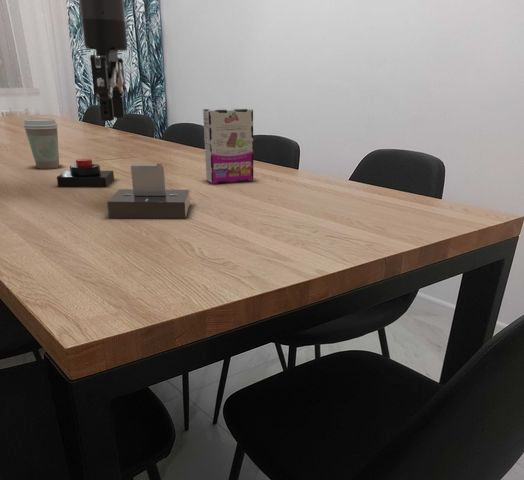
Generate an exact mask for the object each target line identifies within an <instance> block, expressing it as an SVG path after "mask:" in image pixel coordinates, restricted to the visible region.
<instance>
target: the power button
mask: <svg viewBox="0 0 524 480" xmlns="http://www.w3.org/2000/svg"><path fill="white" fill-rule="evenodd" d="M75 164H76V165H77V167H91V166H93V164H94V163H93V159H92V158H85V157H84V158H77V159H75Z"/></svg>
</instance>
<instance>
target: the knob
mask: <svg viewBox="0 0 524 480" xmlns="http://www.w3.org/2000/svg"><path fill="white" fill-rule="evenodd" d="M130 175H131V182H132V189H133V193H134V196H166V190H167V181H166V170H165V164H164V163H163V162H157V163H132V164H130Z"/></svg>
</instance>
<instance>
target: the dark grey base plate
mask: <svg viewBox="0 0 524 480" xmlns="http://www.w3.org/2000/svg"><path fill="white" fill-rule="evenodd" d="M190 199H191V198H190V189H166V196H134V193H133V188H132V189H131V188H130V189H129V188H119V189H118V190H117V191H116V192H114V193H113V195H112V196H111V197H110V198H109V199H108V200H107V202H106V204H107V212H108V218H109V219H187V215H188V212H189V209H190V206H191V200H190Z"/></svg>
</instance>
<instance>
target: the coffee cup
mask: <svg viewBox="0 0 524 480" xmlns="http://www.w3.org/2000/svg"><path fill="white" fill-rule="evenodd" d="M58 128H59V126H58V123H57V121H56V120H55V119H54V118H46V117H45V118H43V117H41V118H26V119H24V121H23V129H24V130H25V133H26V137H27V140H28V143H29V146H30V149H31V150H30V151H31V153H32V156H33V159H34V162H35V166H36V168H37V169H39V170H53V169H59V168H60V153H59V137H58Z"/></svg>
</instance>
